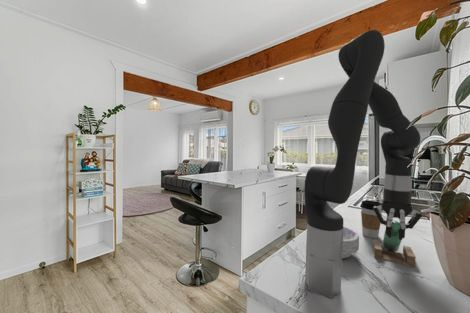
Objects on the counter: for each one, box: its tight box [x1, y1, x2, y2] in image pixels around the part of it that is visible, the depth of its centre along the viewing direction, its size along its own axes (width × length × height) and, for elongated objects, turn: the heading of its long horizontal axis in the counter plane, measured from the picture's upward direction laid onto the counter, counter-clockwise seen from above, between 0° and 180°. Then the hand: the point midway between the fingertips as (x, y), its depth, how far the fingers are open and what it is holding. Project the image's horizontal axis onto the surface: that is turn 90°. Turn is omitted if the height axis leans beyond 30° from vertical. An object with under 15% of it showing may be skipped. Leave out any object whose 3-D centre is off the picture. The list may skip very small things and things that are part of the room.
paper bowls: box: [342, 226, 360, 260], centre depth 77 cm, size 15×15×8 cm
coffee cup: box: [360, 200, 384, 239], centre depth 92 cm, size 8×8×15 cm
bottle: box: [382, 220, 402, 252], centre depth 75 cm, size 5×5×15 cm
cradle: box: [373, 239, 416, 268], centre depth 75 cm, size 8×11×3 cm
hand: (394, 237), depth 72 cm, fingers closed on bottle, 2 cm apart
